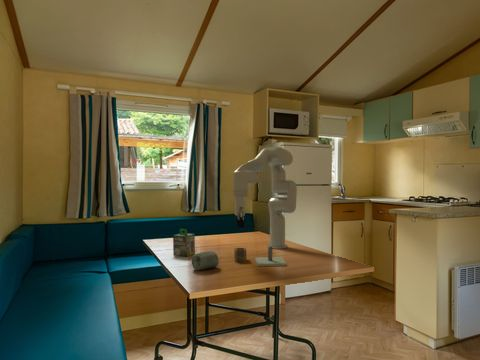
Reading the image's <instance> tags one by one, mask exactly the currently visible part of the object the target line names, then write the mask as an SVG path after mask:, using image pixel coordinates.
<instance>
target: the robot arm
mask: <svg viewBox="0 0 480 360" xmlns="http://www.w3.org/2000/svg"><path fill="white" fill-rule="evenodd" d="M293 160H294V157H293V155H292V153H291V152H290V151H289V150H287V149H285V148H284V147H280V146H271V147H270V146H269V147H264V148H263V149H261V150H260V152H259V153H258V154H257V155H256V156H255V158H253V159H251V160H249V161H248V162H246V163H243V164H242V165H240V166H239V167H238V168H237V169H236V170H235V171H233V174H232V175H233V178H232V180H233V181H232V182H233V183H232V185H233V186H232V188H233V194H232V197H234V215H235V216H236V226H237V228H245V219H244V218H245V217H244V216H245V215H246V198H247V197H248V185H256V184H257V183H258V182H259V180H260V175H259V172H263V171H264V170H266V168H267V167H268V166H269V168H270V169H271V174H272V175H271V177H272V179H271V192H272V194H273V195H276V196H277V197H271V198H270V199H269V201H268V212H269V244H267V247H268V246H272V250H273V249H275V250H278V249H279V250H282V249H287V248H288V244H286V218H285V216H284V213H285V214H287V213H288V214H292V213H294V212H295V211H296V210H297V209H296V208H297V193H298V192H297V191H298V189H297V184H296V182H295V181H294V180H291V179H286V175H287V172H286V170H285V168H284V166H290V165H292V163H293ZM280 196H283V197H280ZM284 196H286V197H284Z"/></svg>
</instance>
